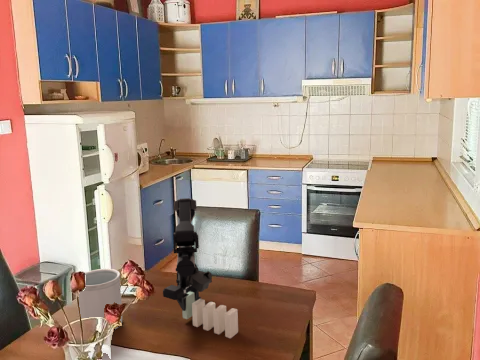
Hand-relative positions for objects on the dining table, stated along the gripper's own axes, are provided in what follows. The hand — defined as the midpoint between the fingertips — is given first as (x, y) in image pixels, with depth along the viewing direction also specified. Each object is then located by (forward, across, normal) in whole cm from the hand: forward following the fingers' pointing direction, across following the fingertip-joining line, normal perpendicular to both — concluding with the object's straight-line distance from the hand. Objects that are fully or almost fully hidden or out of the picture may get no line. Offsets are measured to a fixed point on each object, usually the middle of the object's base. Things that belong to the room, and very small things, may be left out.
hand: (188, 307), depth 150 cm
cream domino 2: (+5, 0, -9) cm, 10 cm away
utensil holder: (+5, -18, +24) cm, 30 cm away
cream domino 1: (+5, 0, -4) cm, 6 cm away
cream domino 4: (+5, 0, -18) cm, 19 cm away
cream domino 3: (+5, 0, -14) cm, 14 cm away
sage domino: (+3, 0, 0) cm, 3 cm away
